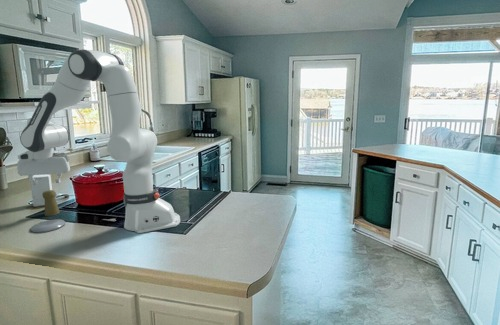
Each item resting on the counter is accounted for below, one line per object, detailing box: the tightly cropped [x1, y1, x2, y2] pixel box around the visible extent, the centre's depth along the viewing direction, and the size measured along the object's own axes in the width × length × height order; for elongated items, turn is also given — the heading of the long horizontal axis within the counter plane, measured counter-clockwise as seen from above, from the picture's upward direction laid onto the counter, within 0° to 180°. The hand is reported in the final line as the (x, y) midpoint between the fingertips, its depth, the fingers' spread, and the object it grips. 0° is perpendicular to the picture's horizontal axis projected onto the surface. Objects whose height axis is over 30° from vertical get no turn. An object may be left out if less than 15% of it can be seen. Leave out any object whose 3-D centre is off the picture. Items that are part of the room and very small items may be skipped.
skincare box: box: [29, 174, 53, 207], centre depth 162 cm, size 8×6×15 cm
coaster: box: [30, 218, 66, 234], centre depth 134 cm, size 12×12×1 cm
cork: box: [42, 189, 61, 217], centre depth 148 cm, size 6×6×11 cm
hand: (46, 183), depth 147 cm, fingers open, 8 cm apart
